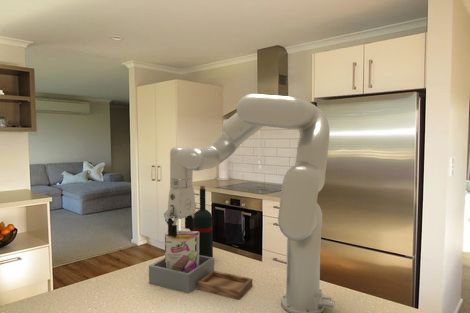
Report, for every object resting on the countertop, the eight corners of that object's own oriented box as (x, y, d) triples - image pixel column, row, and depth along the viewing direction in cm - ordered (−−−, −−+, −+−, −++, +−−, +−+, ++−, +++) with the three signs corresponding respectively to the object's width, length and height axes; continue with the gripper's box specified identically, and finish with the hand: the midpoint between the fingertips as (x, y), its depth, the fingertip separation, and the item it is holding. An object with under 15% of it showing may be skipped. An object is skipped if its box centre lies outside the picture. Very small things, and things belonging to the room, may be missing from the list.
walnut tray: (252, 286, 111) (252, 278, 111) (239, 299, 102) (239, 291, 102) (213, 277, 118) (213, 270, 117) (197, 289, 109) (197, 281, 108)
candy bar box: (164, 281, 115) (164, 234, 114) (169, 274, 120) (168, 229, 119) (196, 282, 114) (196, 235, 112) (199, 276, 119) (199, 230, 117)
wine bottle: (189, 257, 137) (189, 184, 135) (214, 258, 136) (214, 184, 134) (185, 264, 129) (184, 187, 127) (211, 265, 128) (210, 187, 126)
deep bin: (214, 274, 120) (214, 257, 120) (188, 293, 106) (188, 274, 106) (177, 266, 127) (177, 250, 127) (149, 283, 113) (148, 265, 113)
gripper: (174, 188, 105) (174, 241, 106) (204, 180, 120) (203, 227, 122) (155, 185, 108) (155, 237, 110) (186, 179, 124) (186, 224, 125)
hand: (181, 232), depth 116 cm, fingers open, 9 cm apart
